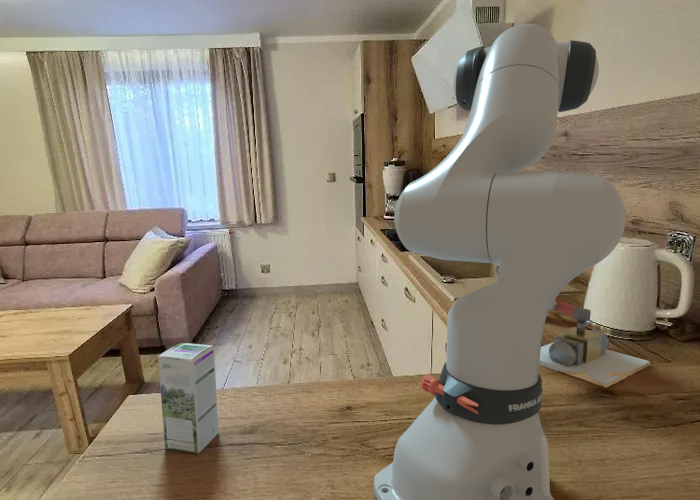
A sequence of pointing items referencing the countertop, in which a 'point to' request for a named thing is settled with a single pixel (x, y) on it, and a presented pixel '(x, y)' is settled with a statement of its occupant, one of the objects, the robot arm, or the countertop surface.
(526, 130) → the robot arm
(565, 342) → the valve
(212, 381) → the syrup box
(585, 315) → the lever
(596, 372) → the mounting board
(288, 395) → the countertop surface
